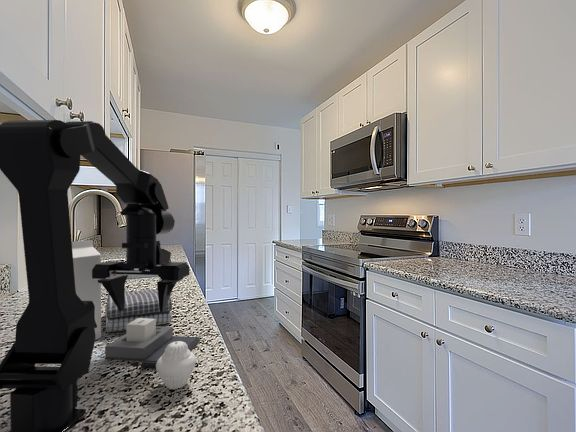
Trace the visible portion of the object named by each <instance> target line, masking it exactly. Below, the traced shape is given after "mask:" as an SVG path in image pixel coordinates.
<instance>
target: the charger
mask: <svg viewBox="0 0 576 432" xmlns="http://www.w3.org/2000/svg"><path fill="white" fill-rule="evenodd" d="M156 326H157V325H156V319H150V318H138V319H136V320H134V321H132V322H130V323H128V324H127V325H126V330H125V332H126V333H125V334H126V341H134V342H147V341H149V340H150V339H151V338H153V337H154V336H156Z"/></svg>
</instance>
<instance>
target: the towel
mask: <svg viewBox="0 0 576 432" xmlns="http://www.w3.org/2000/svg"><path fill="white" fill-rule="evenodd" d="M106 298H107V299H106V301H107V302H106V306H105V311H104V315H105V328H106V332H107V333H112V332H121V331H126V325H127V324H128V323H130V322H132V321H134V320H136V319H138V318H150V319H156V326H161V325H166V324H170V323H172V312H171V311H172V309H173V303H172V302H173V301H172V298H171V296H170V298H169V300H168V303H167V306H166V309H165V311H164V312H163V313H161V312H160V308H159V299H158V288H152V289H142V290H137V291H136V290H135V291H126V290H125V306H124V310H123V311H119V310H118V308H117V306H116V305H115V303H114V301H113V300H112V298H111V296H110V295H109V293H108V294H107V297H106Z"/></svg>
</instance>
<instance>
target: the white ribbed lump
mask: <svg viewBox="0 0 576 432" xmlns="http://www.w3.org/2000/svg"><path fill="white" fill-rule="evenodd" d="M196 362H197V357H196V355H195V354H194V353H193V352H192V351H190V350H189V349H188V346H187V344H186V343H185V342H182V341H176V342H172V343H170V344H168V345H167V347H166V348H165V353H164V354H163V355H162V356H161V357H160V358H159V360H158V361H157V363H156V369H155V370H156V371H157V373H158V376H159V378H160V380H161V381H162V383H163V384H164V385H165V387H166V389H168V388H169V390H179V389H181V388H183V387H185V386H186V385H187V384H188V382H189V380H190V378H191V376H192V374H193V372H194V369H195V366H196ZM178 388H179V389H178Z"/></svg>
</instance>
